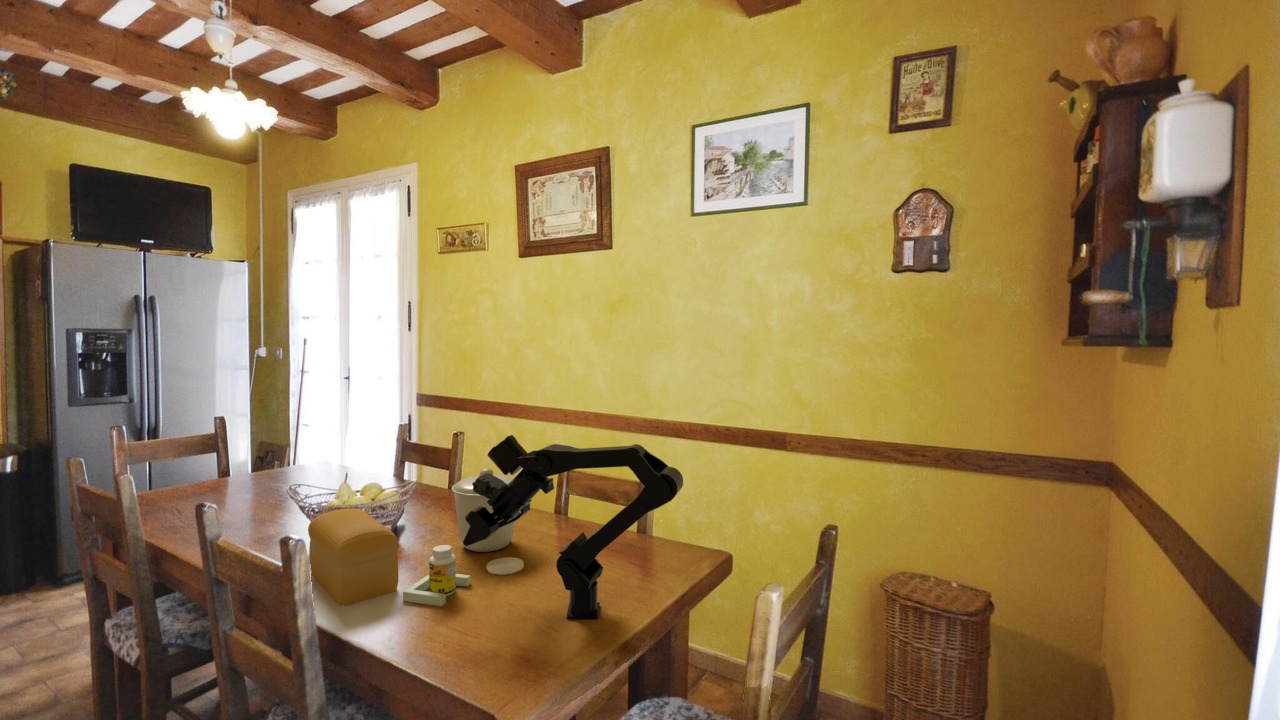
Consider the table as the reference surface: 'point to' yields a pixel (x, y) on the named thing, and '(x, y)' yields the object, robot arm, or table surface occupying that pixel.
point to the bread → (353, 556)
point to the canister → (472, 500)
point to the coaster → (505, 566)
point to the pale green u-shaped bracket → (421, 596)
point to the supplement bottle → (442, 570)
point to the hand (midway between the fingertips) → (476, 537)
